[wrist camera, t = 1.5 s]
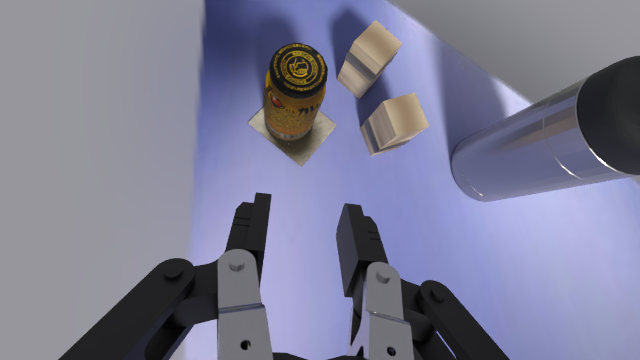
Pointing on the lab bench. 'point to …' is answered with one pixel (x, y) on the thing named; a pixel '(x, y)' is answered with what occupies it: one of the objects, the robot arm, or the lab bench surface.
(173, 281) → the robot arm
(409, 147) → the lab bench surface
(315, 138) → the condiment
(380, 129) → the banded post
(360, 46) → the banded post
